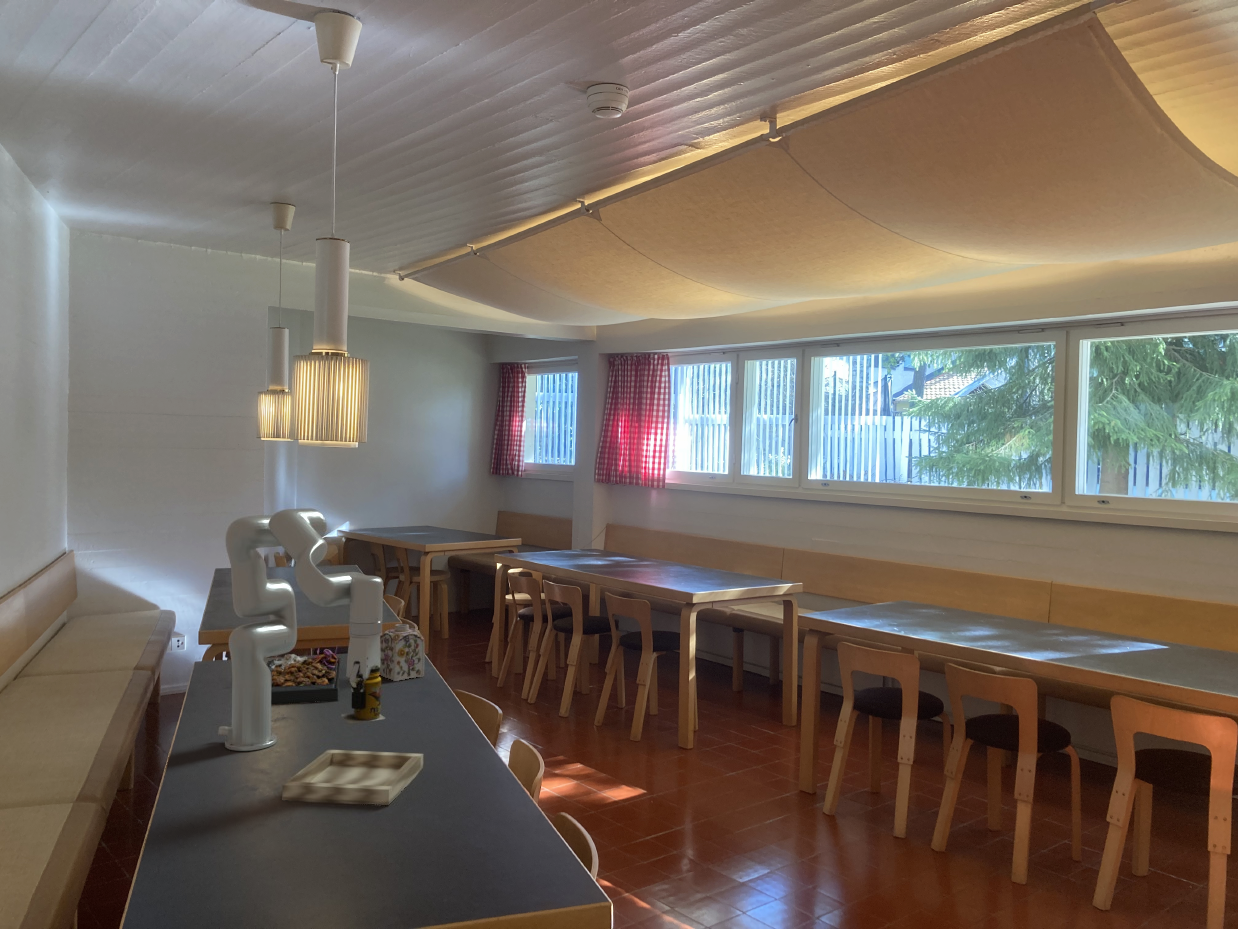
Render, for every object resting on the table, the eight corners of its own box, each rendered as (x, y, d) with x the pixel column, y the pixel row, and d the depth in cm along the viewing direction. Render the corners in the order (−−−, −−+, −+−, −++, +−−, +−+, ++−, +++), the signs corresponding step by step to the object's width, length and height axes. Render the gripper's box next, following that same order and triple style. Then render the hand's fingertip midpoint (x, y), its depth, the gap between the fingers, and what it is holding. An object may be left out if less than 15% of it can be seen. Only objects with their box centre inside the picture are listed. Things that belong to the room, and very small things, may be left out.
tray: (282, 800, 194) (282, 784, 194) (327, 763, 218) (328, 749, 218) (388, 805, 192) (388, 789, 192) (423, 768, 216) (423, 754, 216)
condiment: (385, 719, 209) (387, 668, 209) (349, 724, 204) (350, 672, 204) (376, 711, 215) (377, 662, 215) (340, 716, 210) (342, 665, 210)
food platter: (267, 673, 312) (268, 644, 312) (340, 670, 319) (341, 641, 319) (252, 707, 269) (253, 673, 269) (337, 702, 276) (338, 669, 276)
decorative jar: (377, 676, 308) (378, 624, 308) (407, 671, 316) (408, 620, 316) (394, 682, 300) (395, 629, 300) (425, 677, 308) (425, 625, 308)
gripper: (364, 621, 219) (362, 694, 219) (335, 635, 202) (333, 714, 202) (393, 622, 218) (392, 695, 218) (367, 636, 201) (365, 715, 201)
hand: (364, 703), depth 210 cm, fingers closed on condiment, 6 cm apart
